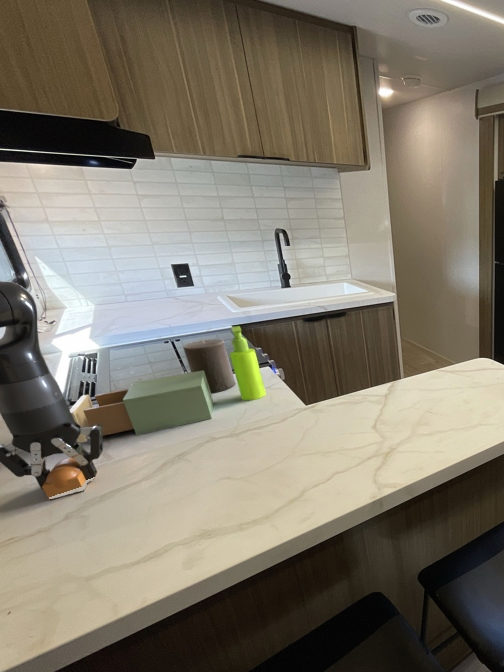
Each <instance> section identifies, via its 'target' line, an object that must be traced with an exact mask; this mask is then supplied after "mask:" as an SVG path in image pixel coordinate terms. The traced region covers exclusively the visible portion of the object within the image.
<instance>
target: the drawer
mask: <svg viewBox="0 0 504 672" xmlns="http://www.w3.org/2000/svg"><path fill="white" fill-rule="evenodd" d="M129 389H130V388H128V389H126V388H125V389H121V390H115V391H111V392H104V393H100V394H99V393H98V394H95V395H94V397H95V400H96V403H97V405H98V406H95V407H94V404H93V402H92V399H91V397H90V395H89V394H84V395H81V396H80V397H79V398H78V399H77V401H76V402H75V403H74V404H73V405H72V407H70V408H69V410H70V412H71V414H72V416H73V419H74V421H75V422H76V423H77V424H79V425H80V426H81V427H94V426H95V425H101V426H102V437H103V436H104V437H105V436H107V435H112V434H118V433H122V432H127V431H132V430H134V428H133V425H132V423H131V420H130V418H129V415H128V413H127V410H126V408H125V405H124V402H123V399H124V397H125V395H126V394H127V392H128V390H129ZM88 440H89V439H87V438H86V437H85V435H84V434H80V435H79V437H78V439H77V441H78V442H79V443H80V444H82V443H87V442H88Z"/></svg>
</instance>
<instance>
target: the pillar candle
mask: <svg viewBox="0 0 504 672" xmlns="http://www.w3.org/2000/svg"><path fill="white" fill-rule="evenodd" d="M183 351H184V354H185V357H186V360H187V363H188V367H189V369H190V373H191V372H197V371H203V370H204V373H205V376H206V379H207V382H208V386H209V389H210V392H211V394H213V393H219V392H225V391H227V390H229V389H231V388H233V387H235V385H236V384H237V383H236V382H237V381H236V378H235V377H234V371H233V368H232V365H231V363H230V358H229V356H228V352H227V348H226V344H225V342H224V340H223V339H220V338H214V339H213V338H212V339H203V338H201V340H198V341H193V342H189V343H187V344H184V345H183Z"/></svg>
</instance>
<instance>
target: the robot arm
mask: <svg viewBox="0 0 504 672" xmlns="http://www.w3.org/2000/svg"><path fill="white" fill-rule="evenodd" d="M38 326H39V325H38V307H37V303H36V301H35V298H34V296H33V294H31V293H30V292H29V291H28V290H27V289H26V288H25V287H23V286H22V285H20V284H19V283H15V282H13V281H7V280H0V329H1V328H5V329H4V334H3V335H2V337H1V338H0V416H1V417H2V420H3V421H4V423H5V425H6V427H7V429H8V431H9V433H10V434H11V436H12V440H11V441H10V442H8V443H1V444H0V463H1V464H2V465H3V466H4V467H5V468H6V469H8V471H10V472H11V473H12V474H13V475H14V476H15V477H18V478H22V477H25V476H32V477H34V478H35V480H36V482H37V484H38V485H39V487H40V489H41V490H42V491H44V490H43V488H42V486H43V484H44V483H45V482H46V479H47V476H48V475H49V473H50V472H51V469H47V458H48V457H51V456H53V455H61V454H65V455H66V456H67V457H68V458H73V459H74V460H75V461H76V462H78V463H79V464H80V466H79V467H80V469H81V471H82V473H83V475H84V477H85V479H86V480H88V479H91V478H93V477H95V478H96V476H97V475H96V474H98V469H97V468H96V466H95V464H94V460H97V459H99V458H100V457H101V455H102V453H103V450H104V449H103V442H104V441H103V436H102V426H101V425H95V426H94V427H81V426H80V425H79V424H77V423H76V422H75V421H74V419H73V416H72V414H71V412H70V408H69V405H68V403H67V401H66V399H65V395H64V394H63V391H62V390H61V387H60V385H59V384H58V382H57V380H56V379H55V377H54V376H53V374H52V373H51V371H50V369H49V366H48V364H47V362H46V360H45V358H44V355H43V353H42V350H41V348H40V347H41V346H40V340H39V339H40V338H39V329H38V328H39V327H38ZM80 434H84V435H85V437H86V438H87V439H88V440H89V450H90V451H87V450H86V449H85V448H84V446H83V444H82V443H79V441H78V437H79V435H80ZM18 450H21V451H23V452H26V453H27V454H30V464H29V463H28V462H27V461H26V460H24V459H23V457H21V456H20V455H19V454H18Z"/></svg>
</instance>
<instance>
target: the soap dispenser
mask: <svg viewBox="0 0 504 672" xmlns="http://www.w3.org/2000/svg"><path fill="white" fill-rule="evenodd" d="M230 329H231V331H232V333H233V336H234V338H232V339H231V343H232V348H233V351H231V352H229V357H230V358H229V359H230V361H231V364H232V365H231V366H232V369H233V373H234V375H235V380H236V382H237V383H236V384H237V386H238V390H239V393H240V397H241V399H242V401H255V400H258V399H261V398H264V397H265V396H266V394H267V393H266V389H265V385H264V380H263V376H262V372H261V369H260V364H259V360H258V357H257V352H256V350H255V348H250V347H249V344H248V340H247V337H244V336H243V335H242V332H243V331H242V328H241V326H240V325H235V326H231V328H230Z"/></svg>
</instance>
